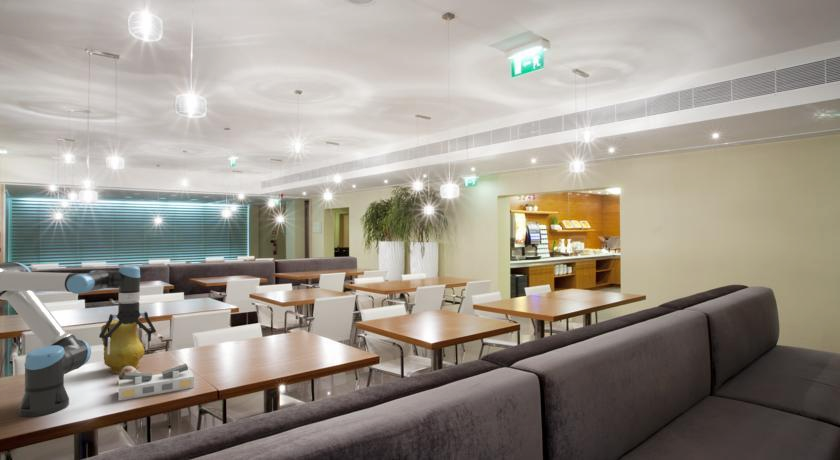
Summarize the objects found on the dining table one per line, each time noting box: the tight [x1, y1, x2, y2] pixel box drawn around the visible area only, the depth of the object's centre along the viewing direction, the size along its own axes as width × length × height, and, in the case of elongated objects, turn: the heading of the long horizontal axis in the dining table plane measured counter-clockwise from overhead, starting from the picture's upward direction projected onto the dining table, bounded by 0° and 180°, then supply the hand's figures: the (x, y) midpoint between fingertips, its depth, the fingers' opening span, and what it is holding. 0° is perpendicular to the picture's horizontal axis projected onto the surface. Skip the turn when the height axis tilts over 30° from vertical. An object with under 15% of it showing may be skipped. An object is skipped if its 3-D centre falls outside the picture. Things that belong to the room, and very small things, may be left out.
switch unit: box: [118, 366, 195, 401], centre depth 193 cm, size 28×12×8 cm, turn 125°
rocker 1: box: [124, 372, 153, 380], centre depth 189 cm, size 10×5×2 cm, turn 125°
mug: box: [118, 366, 140, 380], centre depth 204 cm, size 8×10×10 cm
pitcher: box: [100, 319, 145, 374], centre depth 221 cm, size 17×19×25 cm
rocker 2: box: [161, 363, 189, 378], centre depth 197 cm, size 10×5×2 cm, turn 124°
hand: (127, 351), depth 188 cm, fingers open, 13 cm apart
